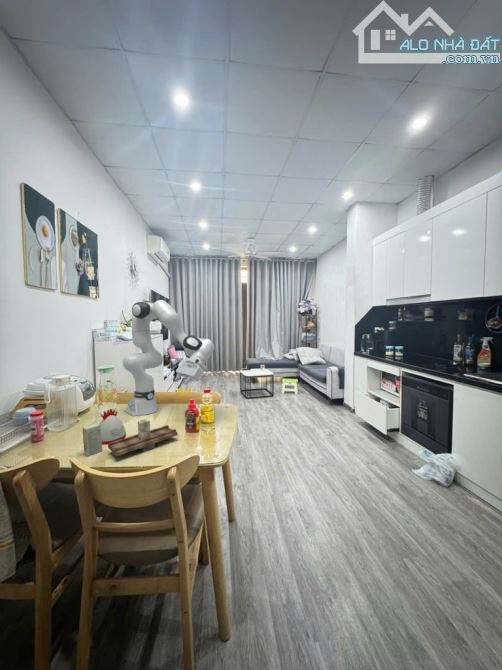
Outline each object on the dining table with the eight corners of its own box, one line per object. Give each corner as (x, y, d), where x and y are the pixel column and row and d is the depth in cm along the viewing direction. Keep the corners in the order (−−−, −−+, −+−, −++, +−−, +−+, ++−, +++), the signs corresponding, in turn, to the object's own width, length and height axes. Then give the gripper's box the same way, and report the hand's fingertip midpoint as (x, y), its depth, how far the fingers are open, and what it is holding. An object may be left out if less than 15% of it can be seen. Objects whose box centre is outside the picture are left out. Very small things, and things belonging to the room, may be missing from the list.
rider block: (146, 435, 126) (146, 418, 126) (150, 437, 123) (149, 420, 123) (138, 437, 123) (137, 421, 123) (141, 440, 120) (141, 423, 120)
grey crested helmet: (88, 441, 130) (87, 411, 129) (114, 431, 142) (113, 403, 141) (106, 447, 123) (105, 415, 123) (131, 435, 135) (130, 407, 135)
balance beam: (166, 433, 137) (166, 424, 137) (177, 440, 129) (177, 430, 129) (108, 453, 117) (107, 442, 117) (117, 462, 109) (116, 450, 109)
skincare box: (98, 448, 122) (97, 422, 121) (102, 451, 119) (101, 424, 119) (83, 453, 117) (82, 426, 117) (86, 456, 114) (85, 429, 114)
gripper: (182, 357, 157) (167, 376, 151) (201, 361, 143) (186, 382, 136) (189, 364, 161) (174, 382, 154) (208, 368, 146) (193, 389, 140)
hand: (180, 382), depth 145 cm, fingers open, 8 cm apart
